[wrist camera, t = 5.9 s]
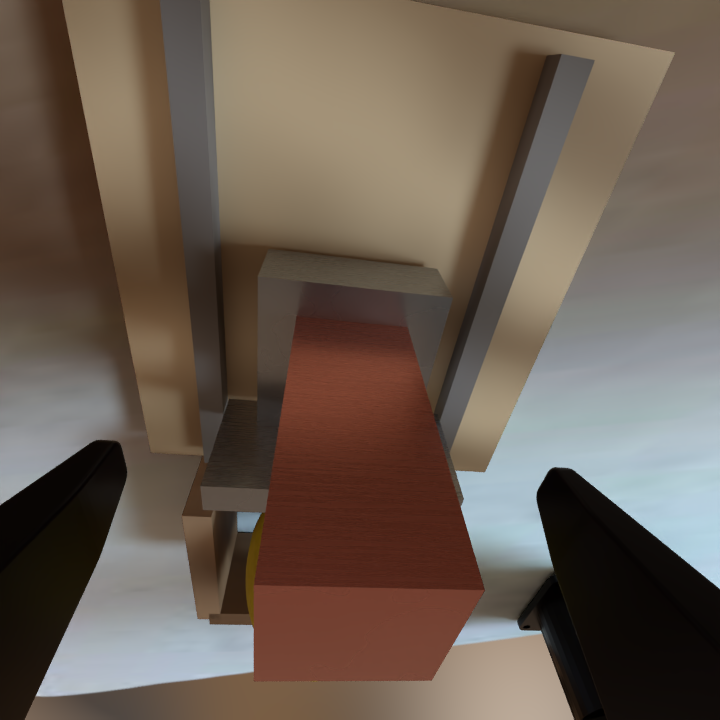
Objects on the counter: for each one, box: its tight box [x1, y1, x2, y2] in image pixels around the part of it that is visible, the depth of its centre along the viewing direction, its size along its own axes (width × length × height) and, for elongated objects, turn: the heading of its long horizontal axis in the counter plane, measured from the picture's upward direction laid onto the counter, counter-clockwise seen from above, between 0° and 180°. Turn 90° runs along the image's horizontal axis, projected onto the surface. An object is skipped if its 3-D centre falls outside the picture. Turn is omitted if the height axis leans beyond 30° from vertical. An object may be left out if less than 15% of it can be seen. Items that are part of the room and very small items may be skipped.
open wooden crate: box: [182, 456, 253, 625], centre depth 19 cm, size 8×10×4 cm
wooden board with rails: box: [62, 0, 675, 472], centre depth 13 cm, size 15×14×2 cm
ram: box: [200, 249, 485, 681], centre depth 10 cm, size 6×7×9 cm
